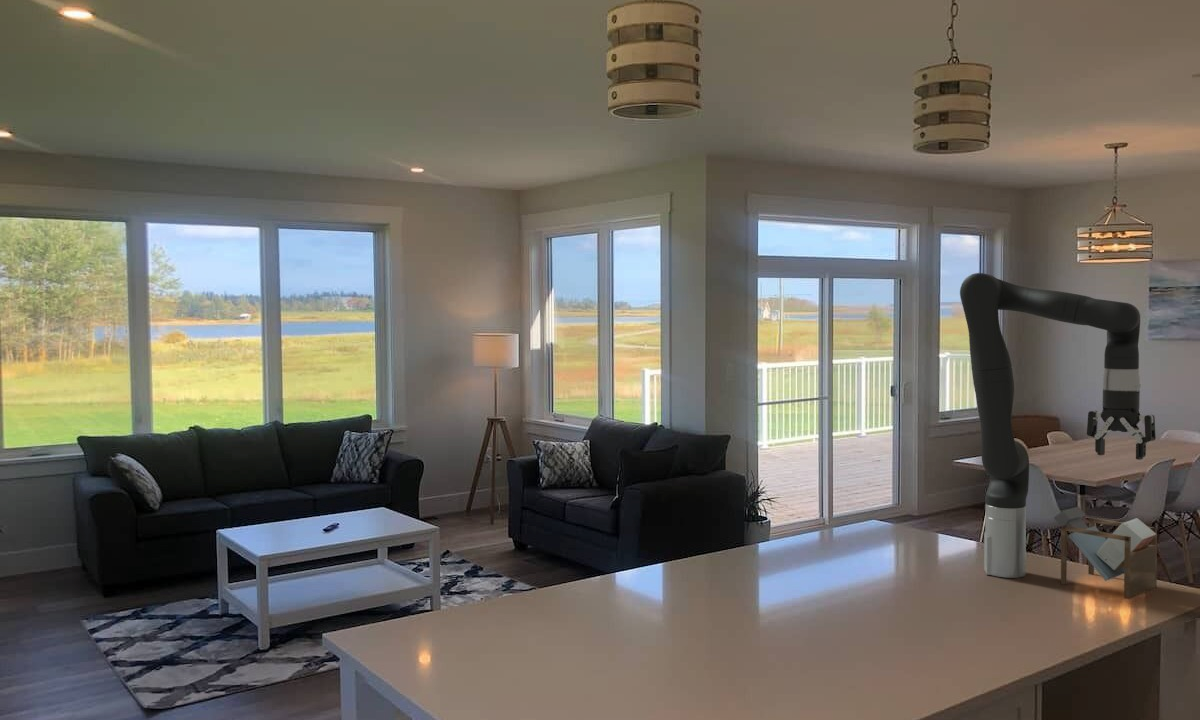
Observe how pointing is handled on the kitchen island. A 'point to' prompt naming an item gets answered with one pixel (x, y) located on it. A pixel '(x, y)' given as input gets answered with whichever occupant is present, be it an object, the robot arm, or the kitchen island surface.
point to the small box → (1115, 548)
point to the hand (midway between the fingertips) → (1120, 457)
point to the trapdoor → (1087, 541)
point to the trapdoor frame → (1136, 563)
